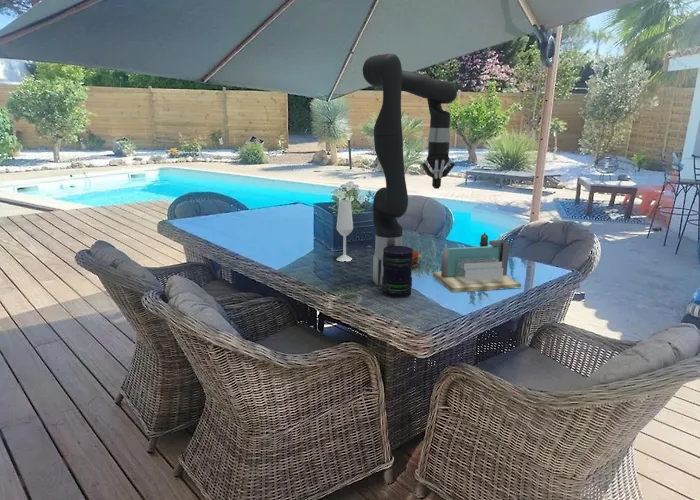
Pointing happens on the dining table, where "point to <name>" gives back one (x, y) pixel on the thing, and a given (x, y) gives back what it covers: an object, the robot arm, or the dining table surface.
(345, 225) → the champagne flute
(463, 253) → the teal upright panel
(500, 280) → the cooler block
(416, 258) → the hamburger
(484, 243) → the chess piece
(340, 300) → the dining table surface
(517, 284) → the mounting board
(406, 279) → the storage jar
